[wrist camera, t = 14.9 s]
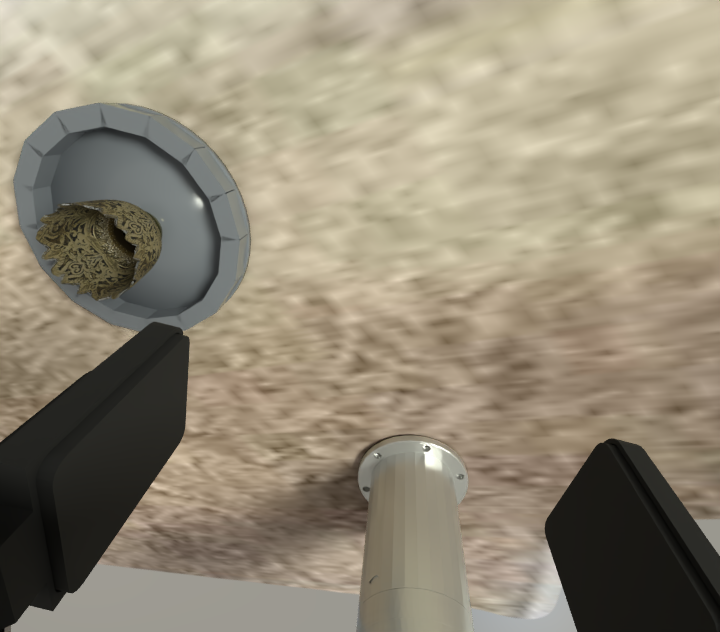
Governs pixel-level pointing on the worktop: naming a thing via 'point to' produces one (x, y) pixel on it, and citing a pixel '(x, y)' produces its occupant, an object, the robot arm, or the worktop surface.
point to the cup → (100, 245)
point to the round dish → (141, 206)
